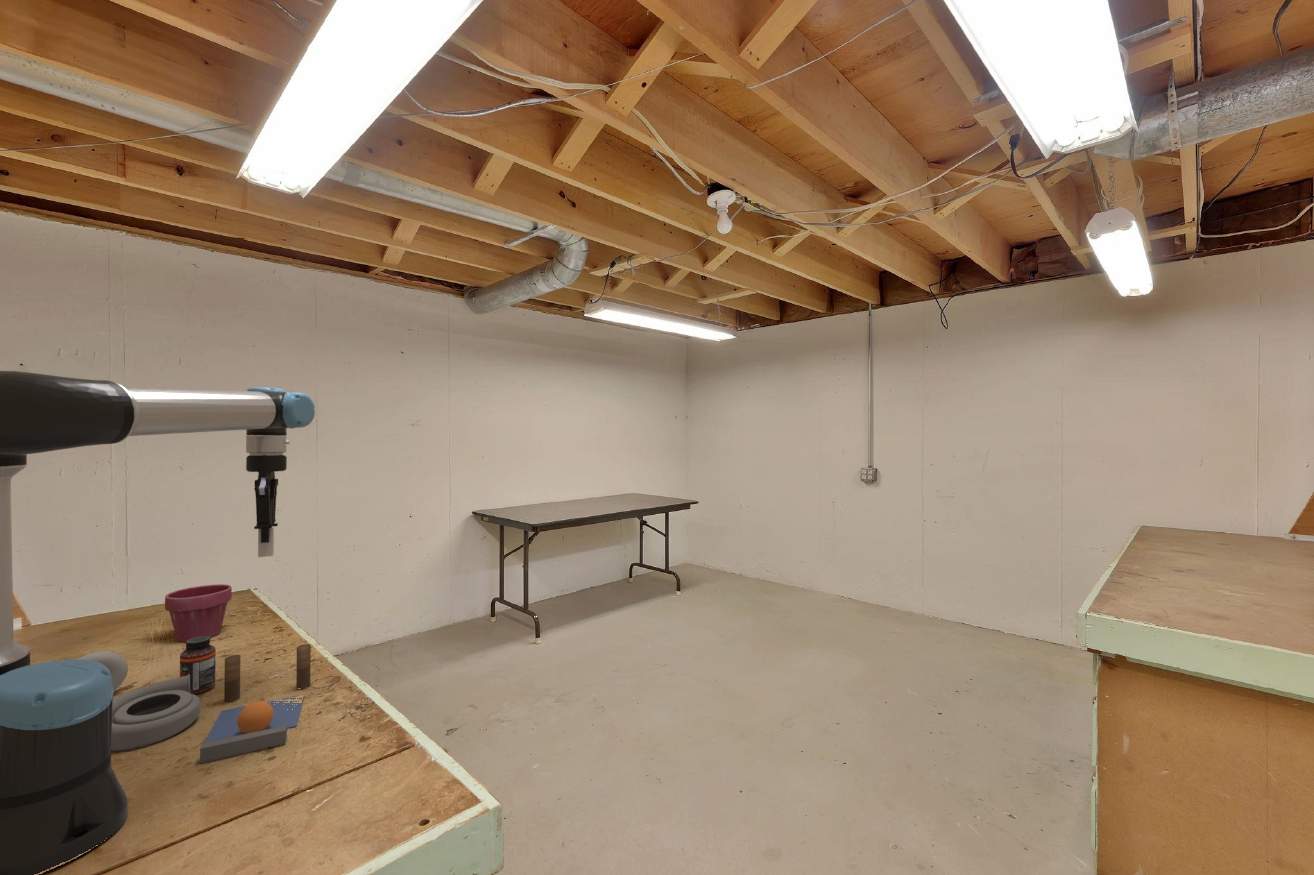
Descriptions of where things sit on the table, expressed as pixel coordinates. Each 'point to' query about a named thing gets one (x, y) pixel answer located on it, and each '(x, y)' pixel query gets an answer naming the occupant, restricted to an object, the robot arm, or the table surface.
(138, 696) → the turbocharger housing
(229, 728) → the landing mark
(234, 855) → the table surface
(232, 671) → the post left
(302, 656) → the post right
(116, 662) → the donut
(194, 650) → the supplement bottle
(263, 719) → the orange egg
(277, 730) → the stopper
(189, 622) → the plant pot
